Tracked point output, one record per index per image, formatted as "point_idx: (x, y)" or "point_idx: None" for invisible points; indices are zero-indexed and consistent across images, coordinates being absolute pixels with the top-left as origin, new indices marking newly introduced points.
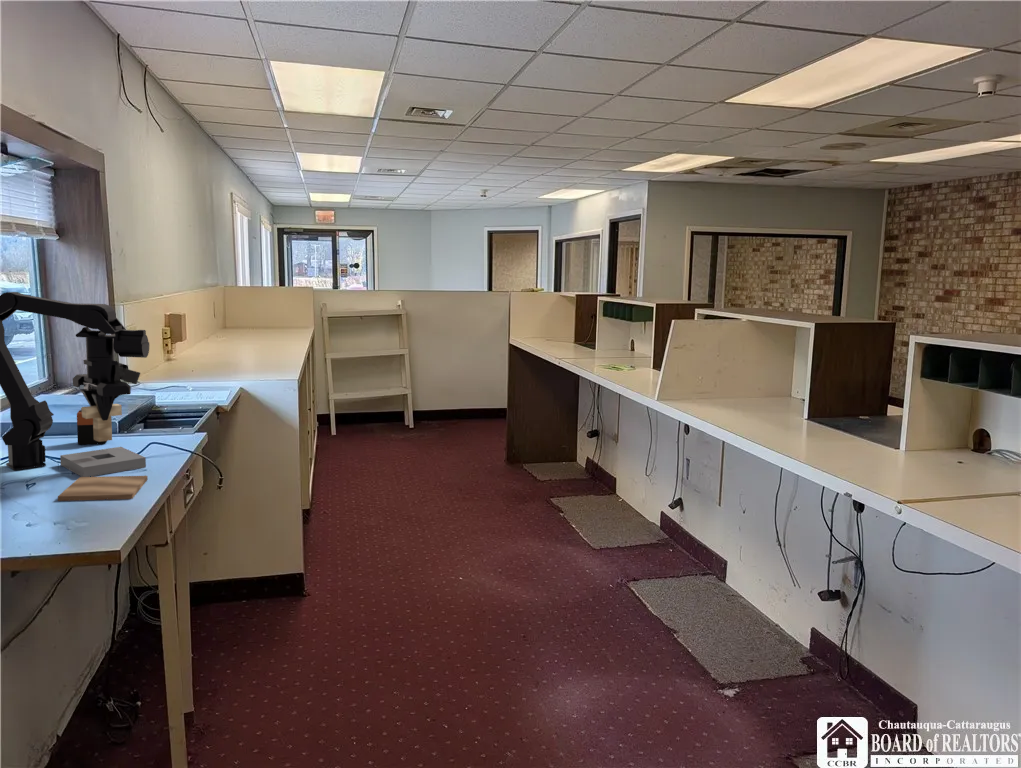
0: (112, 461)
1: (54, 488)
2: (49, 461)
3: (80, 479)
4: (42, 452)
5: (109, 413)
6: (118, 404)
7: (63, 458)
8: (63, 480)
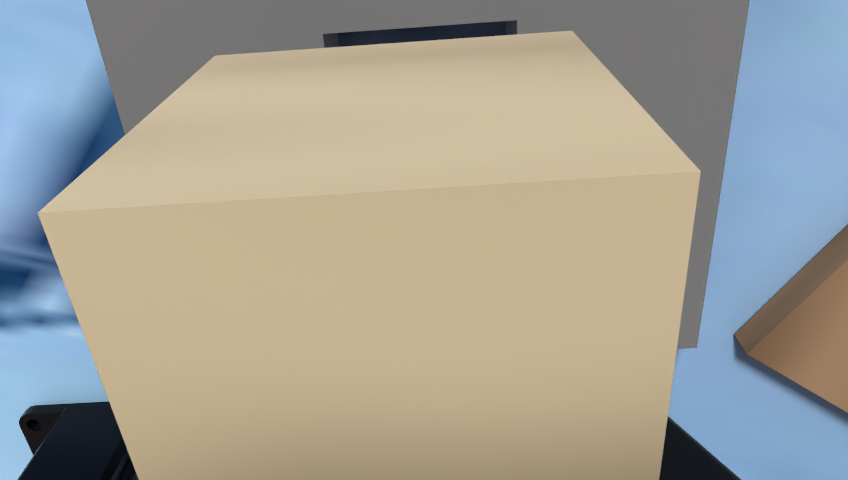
0: (681, 112)
1: (765, 461)
2: (64, 349)
3: (811, 366)
4: (132, 475)
5: (721, 466)
6: (365, 238)
7: None
8: None
